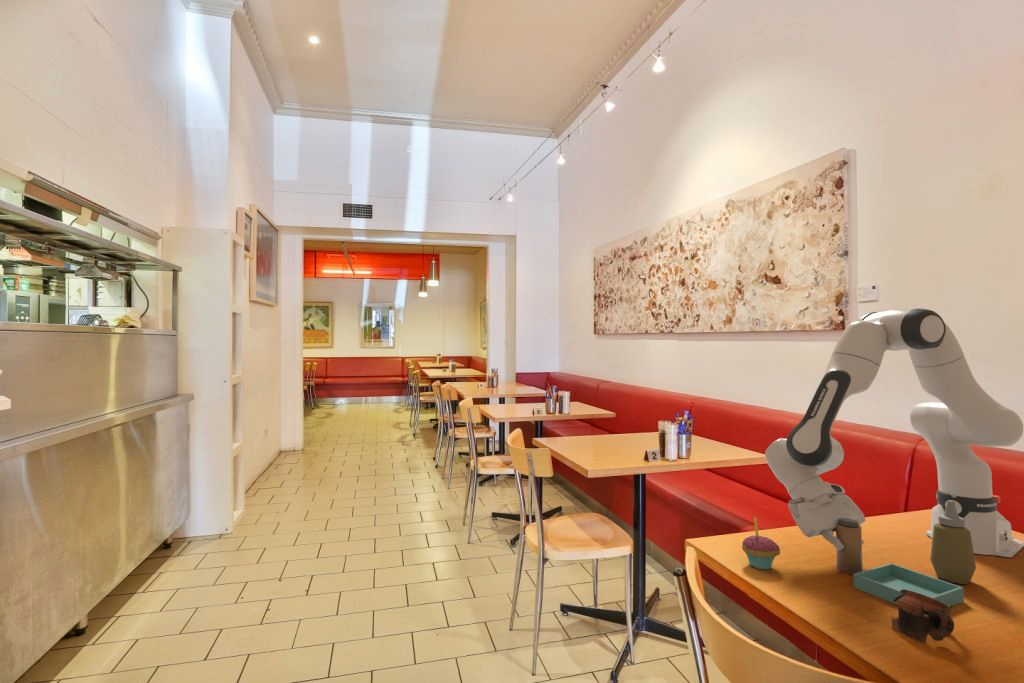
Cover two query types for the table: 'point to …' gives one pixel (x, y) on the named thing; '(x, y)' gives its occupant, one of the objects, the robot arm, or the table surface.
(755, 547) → the cupcake
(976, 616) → the table surface
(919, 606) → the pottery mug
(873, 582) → the tray
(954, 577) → the squeeze bottle
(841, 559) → the shaker
